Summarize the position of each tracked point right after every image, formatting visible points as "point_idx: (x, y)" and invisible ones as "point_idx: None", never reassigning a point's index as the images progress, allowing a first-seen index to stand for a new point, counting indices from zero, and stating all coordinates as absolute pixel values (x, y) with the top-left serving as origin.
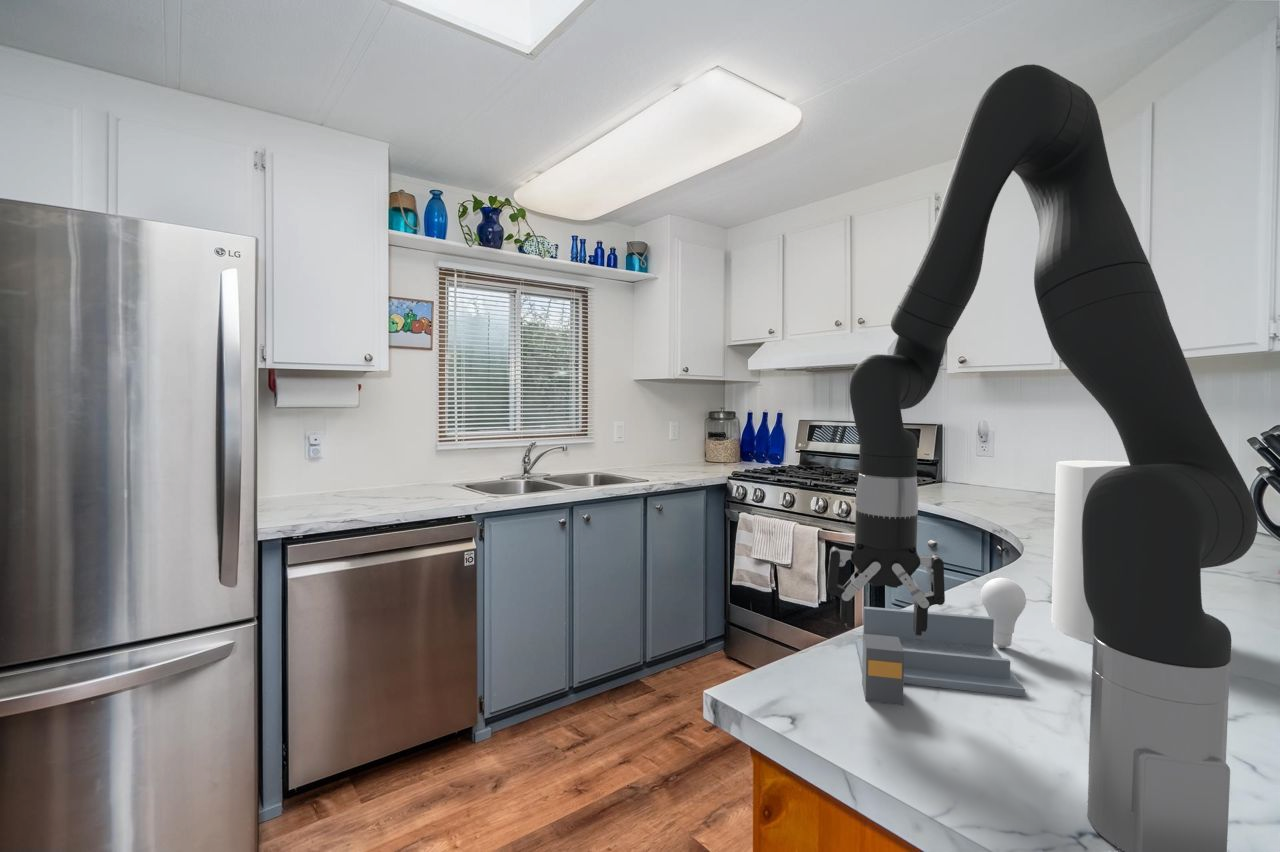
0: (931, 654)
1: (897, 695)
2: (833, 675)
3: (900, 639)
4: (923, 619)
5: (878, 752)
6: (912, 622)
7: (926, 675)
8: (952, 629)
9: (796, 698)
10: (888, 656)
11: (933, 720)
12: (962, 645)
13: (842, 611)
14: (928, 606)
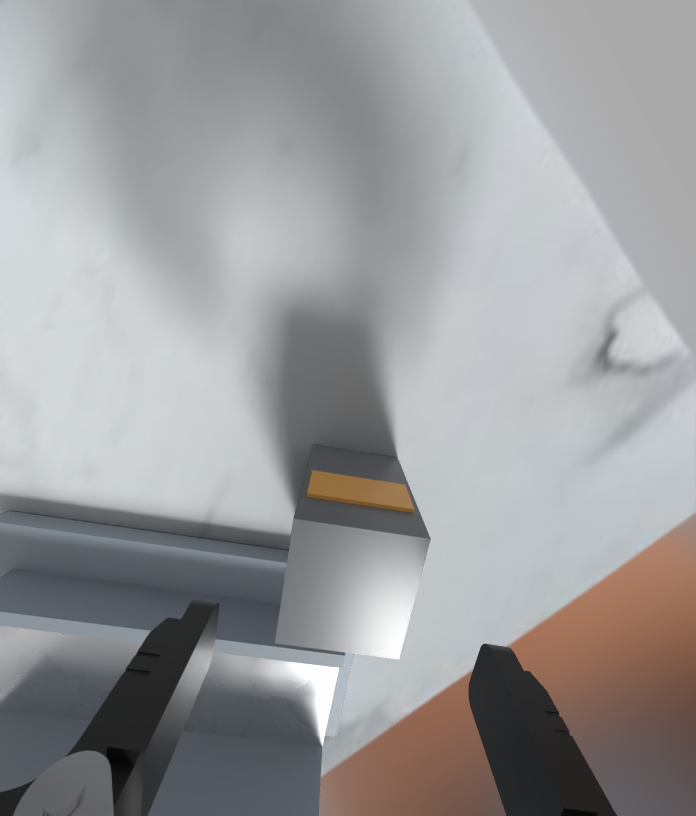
0: None
1: (324, 454)
2: (435, 572)
3: (232, 725)
4: (143, 677)
5: (445, 211)
6: (178, 792)
7: (216, 570)
8: None
9: (562, 455)
10: (349, 513)
11: (262, 379)
12: (75, 706)
13: (565, 735)
14: (51, 775)
